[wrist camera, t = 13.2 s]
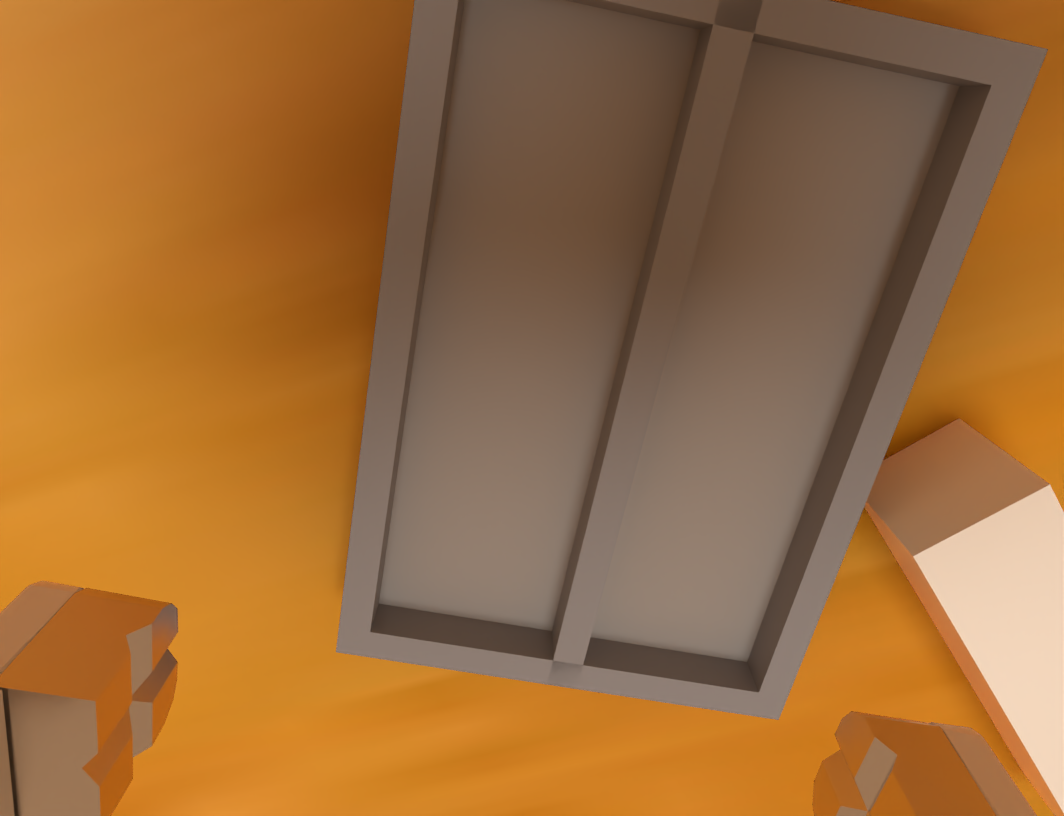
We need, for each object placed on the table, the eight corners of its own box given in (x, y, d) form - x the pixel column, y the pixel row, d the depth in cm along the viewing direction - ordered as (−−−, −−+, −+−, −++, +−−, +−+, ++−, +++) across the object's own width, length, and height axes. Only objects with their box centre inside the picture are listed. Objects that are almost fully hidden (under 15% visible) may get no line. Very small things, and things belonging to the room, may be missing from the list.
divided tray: (440, -64, 20) (425, -90, 17) (980, 56, 21) (1048, 49, 18) (355, 596, 28) (336, 651, 25) (754, 660, 29) (778, 719, 26)
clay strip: (845, 476, 26) (913, 556, 22) (954, 414, 25) (1050, 484, 21) (1019, 767, 31) (1104, 883, 26) (1115, 723, 30) (1222, 836, 26)
